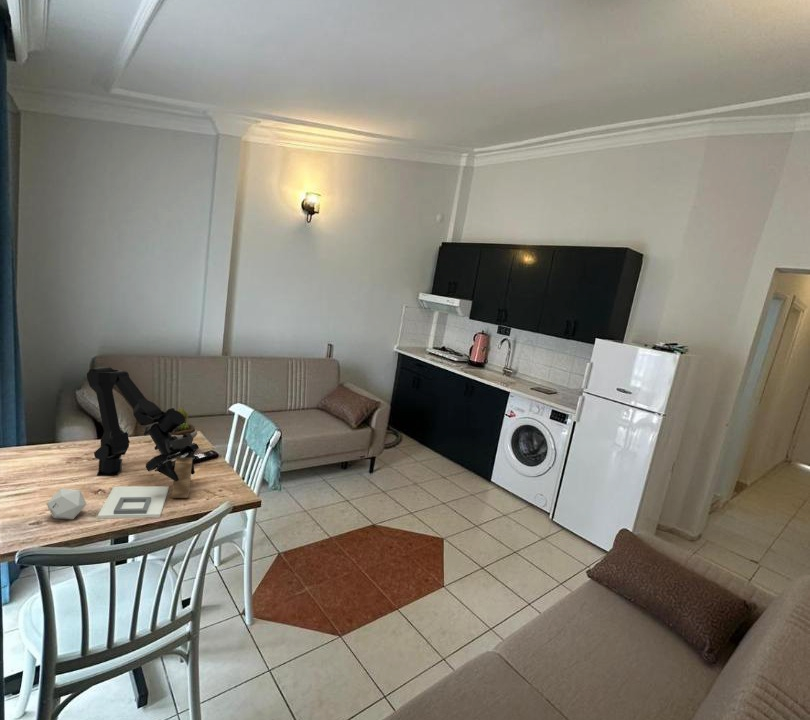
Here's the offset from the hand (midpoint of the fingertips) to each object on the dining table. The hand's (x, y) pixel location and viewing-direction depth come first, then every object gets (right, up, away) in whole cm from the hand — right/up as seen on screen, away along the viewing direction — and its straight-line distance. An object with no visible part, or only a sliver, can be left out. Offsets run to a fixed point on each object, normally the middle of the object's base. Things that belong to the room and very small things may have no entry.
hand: (185, 477), depth 159 cm
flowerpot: (-22, +1, +36) cm, 42 cm away
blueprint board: (-13, -7, -7) cm, 16 cm away
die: (-26, -7, -20) cm, 34 cm away
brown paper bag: (-2, -6, +1) cm, 7 cm away
